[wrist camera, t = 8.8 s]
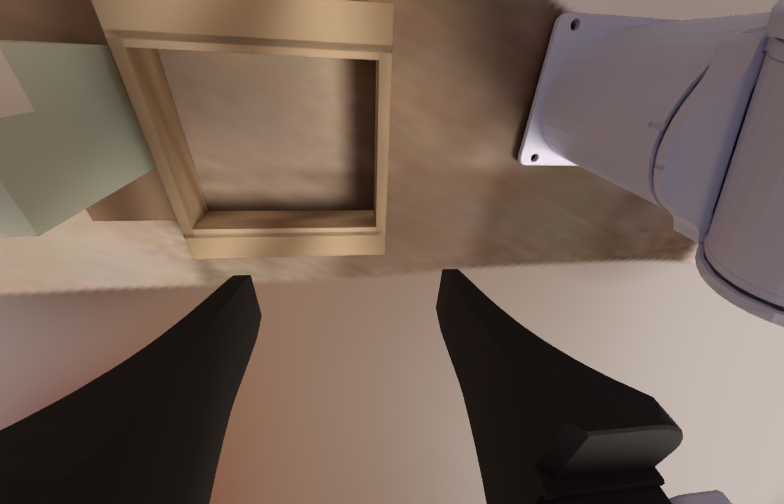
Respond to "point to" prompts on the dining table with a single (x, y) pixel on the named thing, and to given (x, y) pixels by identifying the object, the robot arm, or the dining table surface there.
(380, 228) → the tan square frame
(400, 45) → the dining table surface
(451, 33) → the dining table surface
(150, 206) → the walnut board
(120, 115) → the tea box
